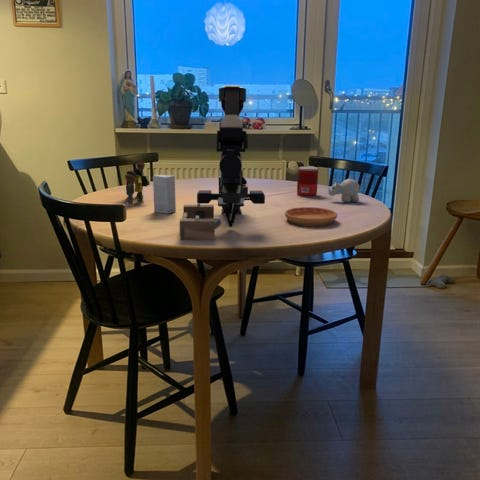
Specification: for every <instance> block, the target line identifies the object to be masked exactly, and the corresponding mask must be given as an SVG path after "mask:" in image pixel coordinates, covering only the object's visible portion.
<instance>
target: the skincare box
mask: <svg viewBox="0 0 480 480" xmlns="http://www.w3.org/2000/svg"><path fill="white" fill-rule="evenodd" d="M175 179H176V177H175V175H169V174H168V175H167V174H156V175H153V176H152V188H153V209H154V210H153V211H154V212H155V213H161V214H166V215H167V214H172V213H176V210H177V209H176V205H177V204H176V181H175Z"/></svg>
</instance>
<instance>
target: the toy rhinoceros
mask: <svg viewBox="0 0 480 480" xmlns="http://www.w3.org/2000/svg"><path fill="white" fill-rule="evenodd" d="M333 183H334V184H333V185H332V186H331V187H330V186H328V188H327V191H328V195H329V196H330V197H334V196H335V195H340V194H341V195H340V196H341V198H340V199H341V201H343V203H351V202H352V203H358V202H360V197H359V193H360V184H359V183H358V181H357V180H355V179H353V178H347V179H344V180H343V181H342V182H341V183H338V182H336V181H334V182H333Z"/></svg>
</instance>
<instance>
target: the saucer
mask: <svg viewBox="0 0 480 480" xmlns="http://www.w3.org/2000/svg"><path fill="white" fill-rule="evenodd" d="M284 215H285V218H286V219H287V220H288V221H289V222H290V223H292V224H295V225H299V226H304V227H305V226H308V227H323V226H327V225H330V224H331V223H333V222H334V221H335V220H336V219H337V218H338V212H336V211H335V210H332V209H330V208H329V209H328V208H323V207H315V206H314V207H311V206H310V207H308V206H303V207H292V208H290V209H287V210H285V212H284Z"/></svg>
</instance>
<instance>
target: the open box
mask: <svg viewBox="0 0 480 480" xmlns="http://www.w3.org/2000/svg"><path fill="white" fill-rule="evenodd" d="M182 213H183V214H182V216H181V218H180V219H179V240H180V241H192V240H194V241H196V240H198V241H200V240H201V241H205V240H206V241H207V240H209V241H214V240H215V237H216V236H215V235H216V234H215V232H216V230H215V229H216V227H215V220H214V219H212V218H215V206H214V204H199V203H197V202H196V204H183V212H182Z"/></svg>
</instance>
